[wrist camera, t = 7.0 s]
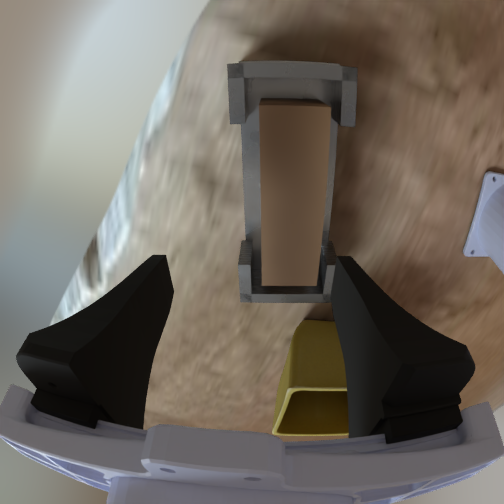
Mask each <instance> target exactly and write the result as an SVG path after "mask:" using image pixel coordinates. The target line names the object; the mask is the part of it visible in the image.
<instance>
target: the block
mask: <svg viewBox="0 0 504 504" xmlns="http://www.w3.org/2000/svg"><path fill="white" fill-rule="evenodd" d="M330 124H331V107H330V106H328V105H327V104H325V103H324V102H322V101H321V100H319V99H299V98H261V100H260V103H259V135H260V187H261V255H262V286H317V278H318V270H319V261H320V253H321V243H322V234H323V224H324V213H325V202H326V190H327V176H328V162H329V145H330Z"/></svg>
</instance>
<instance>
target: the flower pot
mask: <svg viewBox="0 0 504 504" xmlns="http://www.w3.org/2000/svg"><path fill="white" fill-rule="evenodd" d="M272 433H273V434H274V435H286V436H329V435H349V419H348V396H347V383H346V373H345V364H344V358H343V353H342V349H341V345H340V341H339V337H338V333H337V328H336V324H335V322H333V321H319V320H304V321H302V322H301V323H300V324H299V326H298V327H297V328H296V330H295V332H294V335H293V337H292V341H291V344H290V349H289V352H288V356H287V360H286V363H285V366H284V369H283V373H282V376H281V379H280V382H279V386H278V391H277V398H276V405H275V413H274V420H273V428H272Z"/></svg>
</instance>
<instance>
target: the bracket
mask: <svg viewBox="0 0 504 504" xmlns="http://www.w3.org/2000/svg"><path fill="white" fill-rule="evenodd" d="M227 68H228V91H229V113H230V124H241V136H242V161H243V185H244V209H245V232H246V240H242V242H241V249H240V255H239V262H238V271H239V286H240V301H241V302H258V303H327V302H332V301H331V289H332V283H333V277H334V271H335V264H336V258H337V257H336V253H335V250H334V246H333V243H332V241H328V236H329V227H330V218H331V208H332V198H333V187H334V175H335V161H336V147H337V129H338V124H339V125H340V126H349V127H355V118H356V99H357V68H355V67H346V66H340V64H335V63H322V62H306V61H239V63H235V64H227ZM261 98H299V99H319V100H321V101H322V102H324V103H325V104H327V105H328V106H330V107H331V124H330V145H329V162H328V176H327V190H326V202H325V213H324V224H323V234H322V243H321V253H320V261H319V270H318V278H317V286H262V255H261V187H260V135H259V103H260V100H261Z"/></svg>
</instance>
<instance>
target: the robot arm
mask: <svg viewBox="0 0 504 504" xmlns="http://www.w3.org/2000/svg"><path fill="white" fill-rule="evenodd" d="M493 177H494V179H493ZM472 250H473V251H472ZM471 251H472V252H471ZM463 254H464V255H465V256H490V257H491V259H492V260H493V261H494V262H495V264H496V265H497V266H498V267H499V269H500V270H501V271H502V272H503V274H504V174H502V173H497V172H492V171H488V172H486V174H485V176H484V180H483V184H482V188H481V192H480V196H479V200H478V204H477V207H476V211H475V215H474V218H473V221H472V225H471V228H470V231H469V234H468V237H467V240H466V243H465V246H464V249H463ZM173 294H174V289H173V285H172V280H171V276H170V271H169V267H168V262H167V258H166V255H152V256H151V257H150V258H148V259H147V260H146V261H145V262H144V263H142V264H141V265H140V266H139V267H138V268H137V269H136V270H134V271H133V272H132V273H131V274H130V275H129V276H128V277H126V278H125V279H124V280H123V281H122V282H120V283H119V284H118V285H117V286H115V287H114V288H113V289H112V290H111V291H109V292H108V293H107V294H105V295H104V296H103V297H101V298H100V299H99V300H97V301H96V302H94V303H93V304H91V305H90V306H88V307H86V308H85V309H83V310H81V311H79V312H78V313H76V314H74V315H72V316H71V317H69V318H67V319H65V320H62V321H60V322H58V323H56V324H54V325H51V326H49V327H47V328H44V329H41V330H38V331H35V332H33V333H29V335H28V336H27V339H26V340H25V341H24V343H23V345H22V347H21V348H20V350H19V352H18V353H17V355H16V360H17V363H18V365H19V367H20V368H21V370H22V371H23V372H24V374H25V375H26V376H27V377H28V379H29V380H30V381H31V382H32V383H33V384H34V386H35V387H36V388H37V389H36V392H35V394H33V393H32V392H30V391H29V390H27V389H24V388H21V387H18V386H16V385H14V384H11V385H10V387H9V389H8V391H7V393H6V395H5V397H4V399H3V401H2V403H1V405H0V438H1V439H3V440H4V441H5V442H6V443H8V444H9V445H10V446H12V447H13V448H14V449H16V450H17V451H18V452H20V453H21V454H23V455H24V456H26V457H28V458H30V459H32V460H34V461H36V462H38V463H40V464H42V465H44V466H47V467H49V468H51V469H53V470H55V471H57V472H59V473H62V474H64V475H66V476H69V477H71V478H73V479H76V480H78V481H80V482H83V483H85V484H88V485H91V486H93V487H96V488H99V489H101V490H104V491H107V492H109V493H108V498H107V502H106V504H391V503H395V502H398V501H402V500H406V499H409V498H412V497H416V496H419V495H422V494H425V493H428V492H431V491H434V490H437V489H440V488H443V487H446V486H449V485H451V484H454V483H457V482H460V481H462V480H465V479H468V478H470V477H472V476H474V475H475V474H477V473H478V472H480V471H482V470H483V469H484V468H486V467H488V466H489V465H491V464H492V463H494V462H495V461H497V460H498V459H500V458H501V457H502V456H504V446H503V443H502V439H501V436H500V433H499V430H498V427H497V424H496V421H495V418H494V415H493V412H492V409H491V407H490V404H489V402H484V403H480V404H477V405H474V406H470V407H468V408H465V409H463V410H462V411H461V412H460V409H459V406H458V405H459V404H460V403H461V398H460V395H459V393H460V392H461V391H462V389H463V388H464V387H465V386H466V384H467V383H468V382H469V381H470V379H471V377H472V376H473V374H474V371H475V363H474V361H473V359H472V357H471V355H470V352H469V350H468V348H467V346H466V345H464V344H462V343H459V342H457V341H455V340H453V339H451V338H448V337H446V336H444V335H442V334H441V333H439V332H437V331H435V330H433V329H432V328H430V327H428V326H427V325H425V324H424V323H422V322H421V321H419V320H418V319H416V318H415V317H413V316H412V315H411V314H409V313H408V312H407V311H405V310H404V309H403V308H402V307H400V306H399V305H398V304H397V303H396V302H394V301H393V300H392V299H391V298H390V297H389V296H388V295H387V294H386V293H385V292H384V291H383V290H382V289H381V288H380V287H379V286H378V285H377V284H376V283H375V282H374V281H373V280H372V279H371V278H370V277H369V276H368V275H367V274H366V273H365V271H364V270H363V269H362V268H361V267H360V266H359V265H358V264H357V263H356V261H355V260H354V259H353V258H352V257H351V256H337V258H336V264H335V271H334V277H333V283H332V289H331V301H332V310H333V316H334V320H335V324H336V328H337V333H338V337H339V341H340V345H341V349H342V353H343V358H344V364H345V373H346V383H347V396H348V419H349V438H346V439H335V440H321V441H300V442H283V441H282V440H281V439H280V438H279V437H276V436H273V435H270V434H268V433H260V432H252V431H232V430H217V429H206V428H195V427H187V426H178V425H165V424H159V425H156V426H153V427H151V428H149V429H148V430H143V424H144V413H145V404H146V396H147V390H148V384H149V378H150V373H151V368H152V364H153V359H154V356H155V352H156V349H157V346H158V343H159V341H160V338H161V335H162V332H163V329H164V327H165V324H166V321H167V318H168V315H169V312H170V308H171V304H172V299H173Z"/></svg>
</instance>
